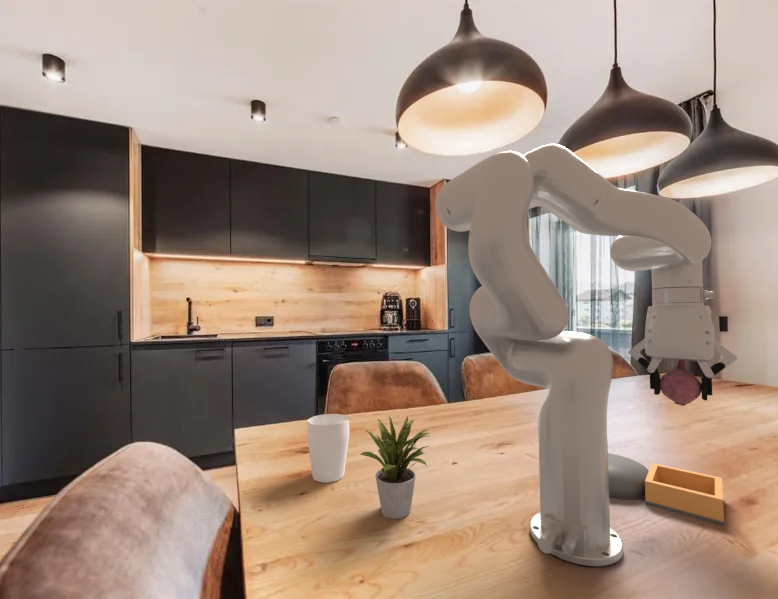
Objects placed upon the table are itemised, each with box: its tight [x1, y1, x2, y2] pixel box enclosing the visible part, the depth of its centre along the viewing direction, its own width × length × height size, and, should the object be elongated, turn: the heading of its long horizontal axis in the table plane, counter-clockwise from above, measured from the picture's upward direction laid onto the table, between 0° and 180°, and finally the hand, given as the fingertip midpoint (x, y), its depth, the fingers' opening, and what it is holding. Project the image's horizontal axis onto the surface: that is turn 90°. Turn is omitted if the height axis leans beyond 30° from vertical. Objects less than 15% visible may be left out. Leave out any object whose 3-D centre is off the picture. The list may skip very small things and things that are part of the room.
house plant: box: [359, 415, 436, 520], centre depth 64 cm, size 14×14×16 cm
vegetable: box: [659, 360, 702, 408], centre depth 68 cm, size 6×6×10 cm
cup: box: [306, 413, 351, 484], centre depth 79 cm, size 9×9×12 cm
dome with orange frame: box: [608, 452, 725, 526], centre depth 72 cm, size 14×24×4 cm, turn 49°
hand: (680, 395), depth 68 cm, fingers closed on vegetable, 6 cm apart
